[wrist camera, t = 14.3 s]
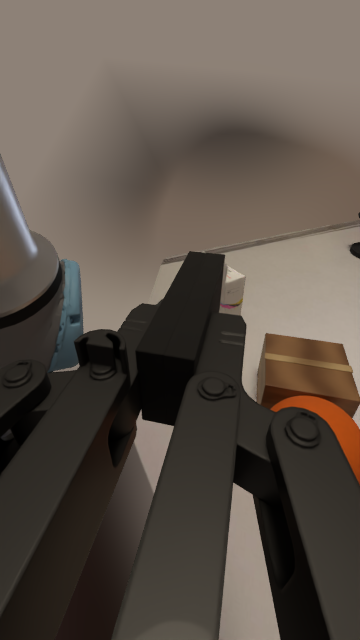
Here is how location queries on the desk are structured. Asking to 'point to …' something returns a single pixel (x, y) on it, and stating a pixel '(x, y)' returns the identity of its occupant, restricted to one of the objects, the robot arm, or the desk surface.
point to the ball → (332, 424)
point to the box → (305, 372)
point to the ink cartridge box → (231, 291)
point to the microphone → (356, 248)
